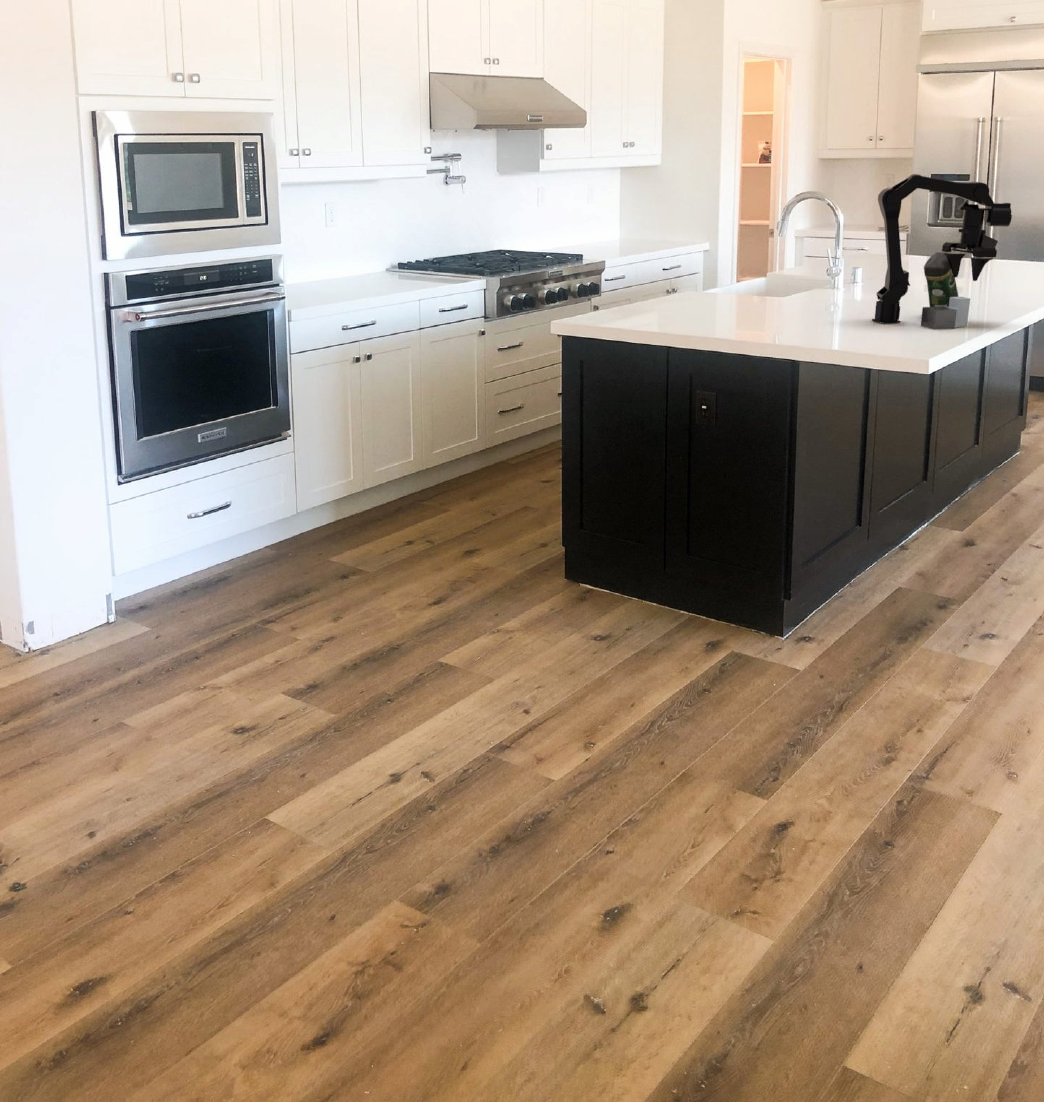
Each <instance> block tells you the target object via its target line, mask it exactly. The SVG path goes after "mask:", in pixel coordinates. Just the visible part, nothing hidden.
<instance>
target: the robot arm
mask: <svg viewBox="0 0 1044 1102" xmlns="http://www.w3.org/2000/svg"><path fill="white" fill-rule="evenodd" d="M918 189H920V190H921V189H922V190H927V191H933V192H938V193H943V194H948V195H953V196H956V197H958V198H961V199H964V200H967V201H969V202H973V203H974V204H973V203H971V204H970V203H968V202H967V201H963V202H962V203H961V204H960V205H959V206H957V210H960V211H963V218H962V227H961V228H958V233H961V234H960V241H947V242H946V241H945V242H944V243H943V244H942V247H941V252H944V255H946V257H947V260H948V262H949V264H950V267H951V270H952V273H953V276H954V277H955V278H958V276H959V273H960V269H961V263H962V259H963V258H964V257H965V256H966V254H967V253H968V254H972V257H970V263H971V276H972V281H973V282H977V281H978V279H979V277H980V275H981V272H982V271H983V269H984V267H985V266H986V264H987V263H988V262H990V261H992V260H993V259H994V258H997V254H998V249H996V247H997V245H998V243H999V241H998V240H996V239H995V238H993V237H990V236H988V235H986V233H987V232H986V229H983V226H984V225H983V224H984V223H986V224H987V226H988V227H1009V226H1010V224H1011V222H1012V217H1013V215H1012V209H1011V207H1012V206H1011V205H1012V204H1011V202H1003V203H1002V202H1001V203H999V202H997V203H996V202H994V200H993V198H992V197H991V195H990V187H989V186H988V184H986V183H984V182H981V181H953V180H946V179H941V178H937V177H930V176H924V175H921V174H919V173H918V174H916V173H913V174H910V175H909V176H908V177H906V178H905V179H903V180H902V181H900V182H898V183H897V184H895V185H893V186H891V187H889V188H888V187H887V188H883V189H882V190H881V191H880V192H879V193H878V195H877V202H878V206H879V210H880V212H881V216H882V219H883V221H884V222H883V223H884V224H883V225H884V237H885V251H886V260H887V261H886V262H887V268H886V272H885V276H884V277H885V278H884V286H883V287H881V289H879V290H878V291H877V292H876V298H877V300H876V303H875V311H874V318H871V321H873V322H876V323H880V324H893V323H894V324H899V323H901V320H900V312H901V306H900V305H901V304H900V303H901V302H900V300H901V299H902V298H903V297H904V296H905V295H907V293H908V291H909V290H908V289H909V287H910V286H911V283H910V281H909V278H910V272H909V271H907V270H905V269H903V264H902V251H901V250H902V249H901V236H900V235H901V234H900V223H899V220H900V219H899V218H900V215H901V208H902V200H905V198H908V196H910V195H911V194H912V193H913V192H914V191H916V190H918ZM976 203H977V204H976ZM979 205H980V206H984V207H985V208H984V207H980V206H979Z"/></svg>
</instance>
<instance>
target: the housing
mask: <svg viewBox="0 0 1044 1102" xmlns="http://www.w3.org/2000/svg"><path fill="white" fill-rule="evenodd" d="M921 309H922V311H921V320H920V327H923V328H928V329H931V330H948V329H949V330H952V329H954V330H955V328H956V327H955V321H956V313H957V309H952V308H948V307H944V306H940V307H930V306H922V308H921Z"/></svg>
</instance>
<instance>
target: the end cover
mask: <svg viewBox="0 0 1044 1102" xmlns="http://www.w3.org/2000/svg"><path fill="white" fill-rule="evenodd" d="M970 304H971V298H969V297H964V296H959V297H950V301H949V307H948V308H952V309H957V313H956V321H955V328H957V327H958V328H959V327H968V319H969V311H970Z"/></svg>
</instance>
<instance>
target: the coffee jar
mask: <svg viewBox="0 0 1044 1102" xmlns="http://www.w3.org/2000/svg"><path fill="white" fill-rule="evenodd" d="M944 253H945V252H942V251H941V252H938V251H937V252H935V253H934V254H932V255H931V256H930V257H929V258H928V259H927V261H926V262H925V264H924V265H923V270H924V271H923V273H924V276H925V279H926V286H927V292H928V293H927V295H928V303H929V307H940V306H944V307H949V301H950V297H960V296H959V291H958V287H957V282H956V281H957V280H956V277H954V276H953V273H952V270H951V267H950V264H949V262H948V260H947V257H946V255H944Z"/></svg>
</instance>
